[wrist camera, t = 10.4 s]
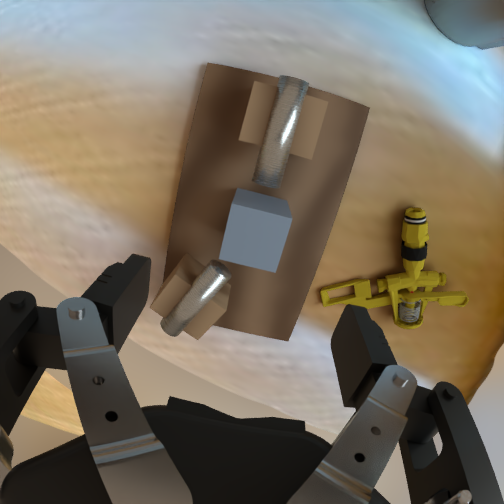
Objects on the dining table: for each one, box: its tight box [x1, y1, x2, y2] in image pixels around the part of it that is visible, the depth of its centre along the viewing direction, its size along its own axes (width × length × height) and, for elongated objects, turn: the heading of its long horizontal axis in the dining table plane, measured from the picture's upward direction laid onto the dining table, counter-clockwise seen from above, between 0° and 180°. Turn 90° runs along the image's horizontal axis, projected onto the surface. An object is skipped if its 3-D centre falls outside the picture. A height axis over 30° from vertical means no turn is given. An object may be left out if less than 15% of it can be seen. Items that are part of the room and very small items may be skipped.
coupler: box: [219, 188, 292, 273], centre depth 29 cm, size 5×5×6 cm
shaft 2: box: [252, 75, 309, 188], centre depth 24 cm, size 2×9×2 cm, turn 166°
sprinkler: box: [320, 207, 469, 329], centre depth 33 cm, size 19×4×15 cm
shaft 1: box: [160, 260, 231, 337], centre depth 30 cm, size 2×9×2 cm, turn 141°
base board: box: [150, 63, 370, 341], centre depth 30 cm, size 16×28×6 cm, turn 166°
